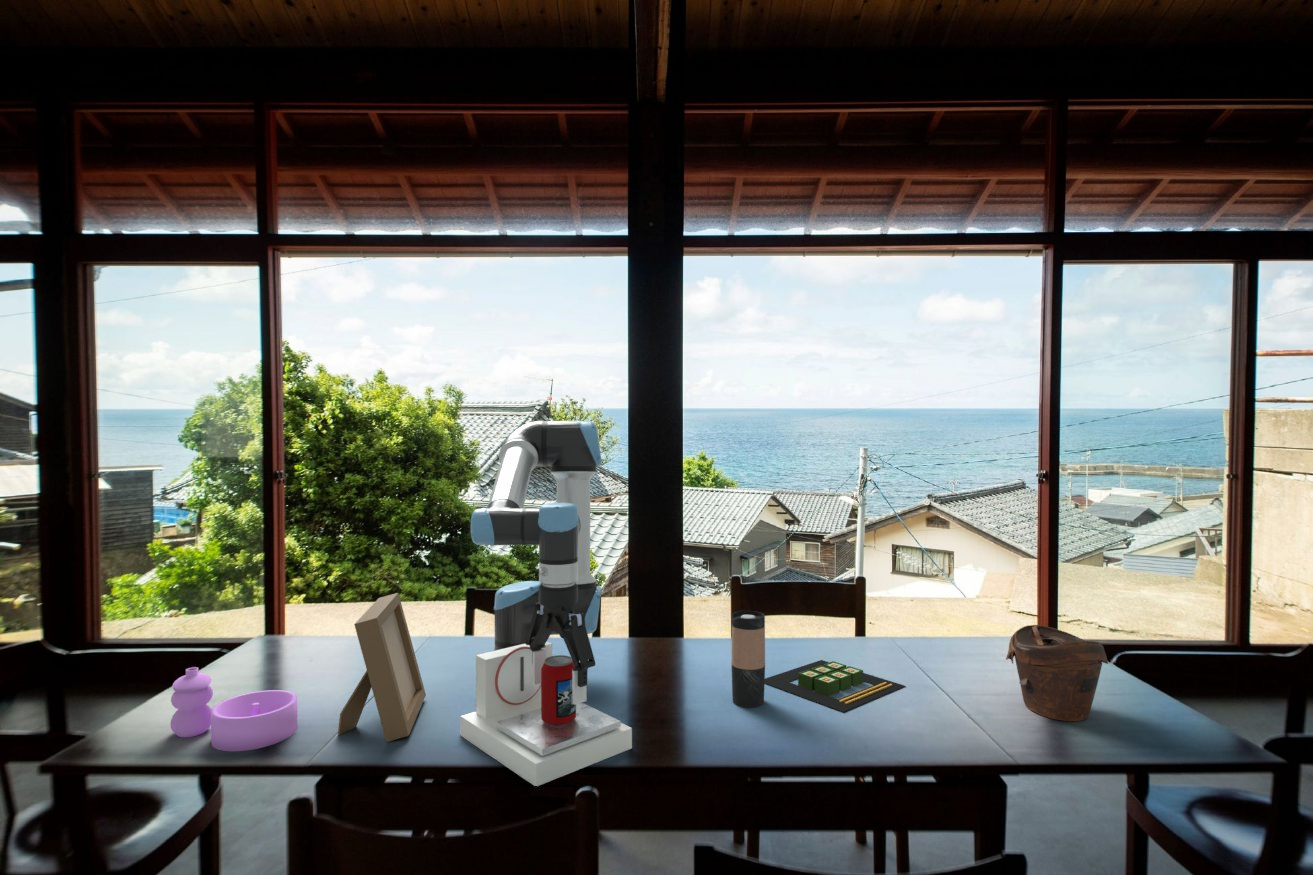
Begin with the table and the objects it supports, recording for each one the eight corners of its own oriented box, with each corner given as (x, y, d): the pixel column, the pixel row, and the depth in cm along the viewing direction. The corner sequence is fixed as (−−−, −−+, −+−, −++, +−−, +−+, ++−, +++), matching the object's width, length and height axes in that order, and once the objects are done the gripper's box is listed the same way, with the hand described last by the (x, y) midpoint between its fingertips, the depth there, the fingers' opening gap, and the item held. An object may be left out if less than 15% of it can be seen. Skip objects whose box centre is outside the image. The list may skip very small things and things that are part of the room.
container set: (312, 720, 151) (312, 659, 151) (267, 753, 136) (267, 685, 136) (202, 717, 153) (201, 656, 153) (145, 748, 138) (145, 681, 138)
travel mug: (769, 698, 163) (769, 612, 163) (759, 710, 156) (759, 620, 156) (737, 693, 166) (737, 608, 166) (726, 704, 160) (726, 616, 159)
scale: (460, 735, 144) (460, 652, 143) (550, 706, 158) (550, 631, 158) (535, 786, 123) (535, 690, 123) (631, 748, 138) (631, 662, 138)
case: (1020, 686, 171) (1021, 613, 170) (1117, 710, 156) (1118, 630, 156) (992, 708, 158) (993, 629, 158) (1094, 736, 144) (1095, 649, 143)
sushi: (843, 715, 155) (843, 698, 155) (758, 684, 174) (758, 669, 174) (905, 689, 171) (905, 674, 171) (821, 663, 190) (821, 649, 190)
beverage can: (569, 729, 133) (569, 666, 133) (535, 726, 134) (535, 664, 134) (580, 715, 140) (580, 655, 139) (548, 712, 141) (548, 652, 141)
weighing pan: (496, 727, 137) (496, 721, 137) (572, 703, 149) (572, 697, 149) (542, 755, 125) (542, 749, 125) (620, 727, 137) (620, 720, 137)
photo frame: (426, 699, 163) (423, 591, 162) (408, 740, 141) (406, 616, 141) (358, 704, 160) (355, 594, 160) (330, 746, 139) (327, 620, 138)
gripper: (507, 576, 143) (508, 679, 144) (581, 598, 125) (581, 717, 125) (539, 570, 148) (539, 671, 149) (614, 591, 130) (614, 705, 130)
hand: (558, 692), depth 137 cm, fingers open, 13 cm apart
